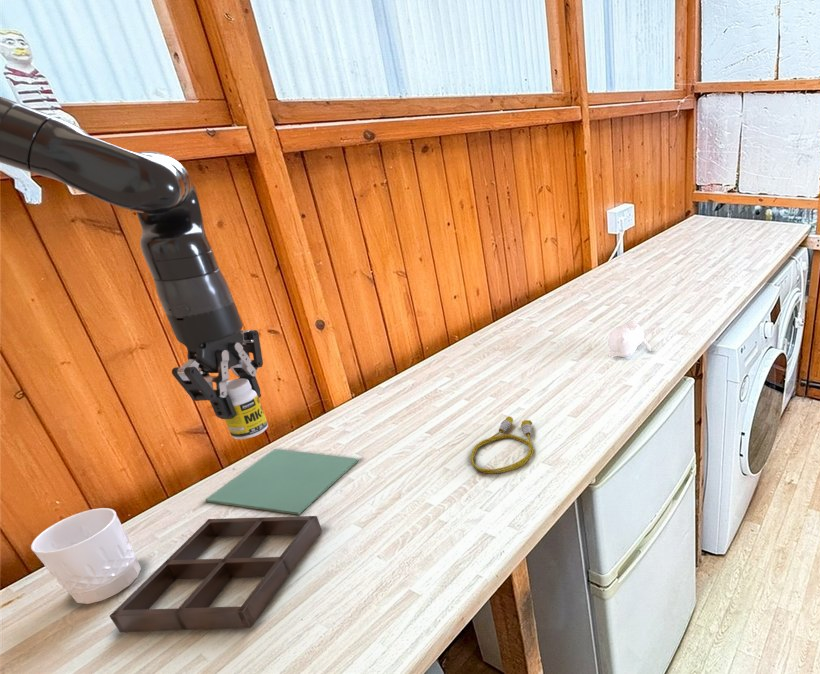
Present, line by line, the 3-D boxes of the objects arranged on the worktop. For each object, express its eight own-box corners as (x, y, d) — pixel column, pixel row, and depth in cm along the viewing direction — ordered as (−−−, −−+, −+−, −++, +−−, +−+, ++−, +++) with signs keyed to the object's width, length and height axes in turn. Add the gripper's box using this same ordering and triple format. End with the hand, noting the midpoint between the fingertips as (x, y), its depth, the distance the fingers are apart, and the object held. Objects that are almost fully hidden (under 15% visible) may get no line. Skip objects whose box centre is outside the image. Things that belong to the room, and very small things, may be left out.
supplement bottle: (254, 440, 79) (235, 392, 75) (224, 440, 79) (203, 392, 76) (276, 422, 83) (258, 376, 80) (247, 422, 83) (228, 376, 80)
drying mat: (206, 501, 87) (205, 499, 87) (275, 451, 99) (274, 448, 99) (298, 515, 84) (297, 512, 83) (358, 460, 96) (357, 458, 96)
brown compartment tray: (119, 632, 65) (108, 615, 64) (215, 533, 80) (208, 518, 79) (250, 628, 66) (242, 611, 64) (322, 530, 81) (316, 515, 79)
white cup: (144, 551, 77) (115, 499, 73) (148, 583, 72) (116, 528, 68) (69, 583, 72) (33, 529, 68) (67, 619, 67) (28, 563, 63)
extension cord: (558, 436, 102) (557, 427, 101) (502, 483, 90) (500, 474, 89) (512, 420, 108) (510, 411, 107) (452, 462, 95) (450, 453, 94)
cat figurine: (632, 310, 137) (611, 325, 127) (663, 335, 136) (644, 352, 126) (617, 333, 142) (596, 349, 132) (647, 357, 141) (627, 375, 131)
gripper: (211, 287, 79) (249, 385, 86) (126, 324, 66) (178, 435, 73) (261, 286, 79) (294, 384, 86) (185, 323, 66) (232, 434, 73)
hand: (241, 407), depth 79 cm, fingers closed on supplement bottle, 4 cm apart
